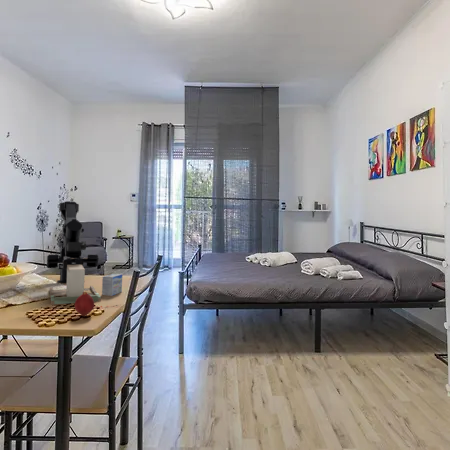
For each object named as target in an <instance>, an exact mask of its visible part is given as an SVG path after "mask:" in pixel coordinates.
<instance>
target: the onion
mask: <svg viewBox="0 0 450 450" xmlns="http://www.w3.org/2000/svg"><path fill="white" fill-rule="evenodd" d="M88 294H89V293H87V291H84V292H83V294H82V295H80V296H79V297H78V298H77V300H76V301H75V303H74V309H75V311H76V312H77V313H78V314H80V316H82V317H86V316H87V315H89V314H90V313H91V312H92V311H93V310H94V308H95V302H94V300H93V298H92V297H91V296H90V295H88ZM85 315H86V316H85Z"/></svg>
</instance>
